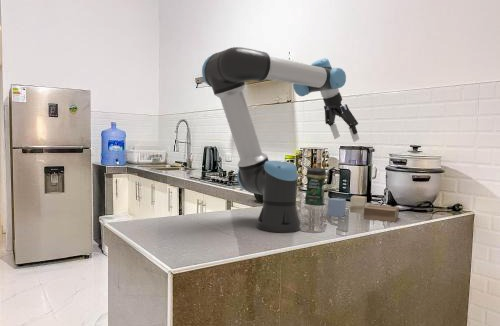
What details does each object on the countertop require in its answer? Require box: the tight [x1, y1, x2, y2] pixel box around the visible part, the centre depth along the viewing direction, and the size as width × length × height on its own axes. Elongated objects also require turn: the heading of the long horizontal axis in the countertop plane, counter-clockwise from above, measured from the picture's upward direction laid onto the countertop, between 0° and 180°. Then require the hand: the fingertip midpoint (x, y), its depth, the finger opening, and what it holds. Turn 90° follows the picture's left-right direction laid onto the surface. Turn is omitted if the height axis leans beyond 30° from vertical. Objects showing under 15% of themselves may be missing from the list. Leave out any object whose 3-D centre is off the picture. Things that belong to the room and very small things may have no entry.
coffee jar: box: [304, 167, 327, 206], centre depth 199 cm, size 10×8×19 cm
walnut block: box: [363, 204, 400, 223], centre depth 164 cm, size 12×12×5 cm
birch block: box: [349, 195, 368, 214], centre depth 179 cm, size 6×6×7 cm
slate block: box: [327, 197, 347, 218], centre depth 169 cm, size 6×6×7 cm
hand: (346, 138), depth 173 cm, fingers open, 13 cm apart
